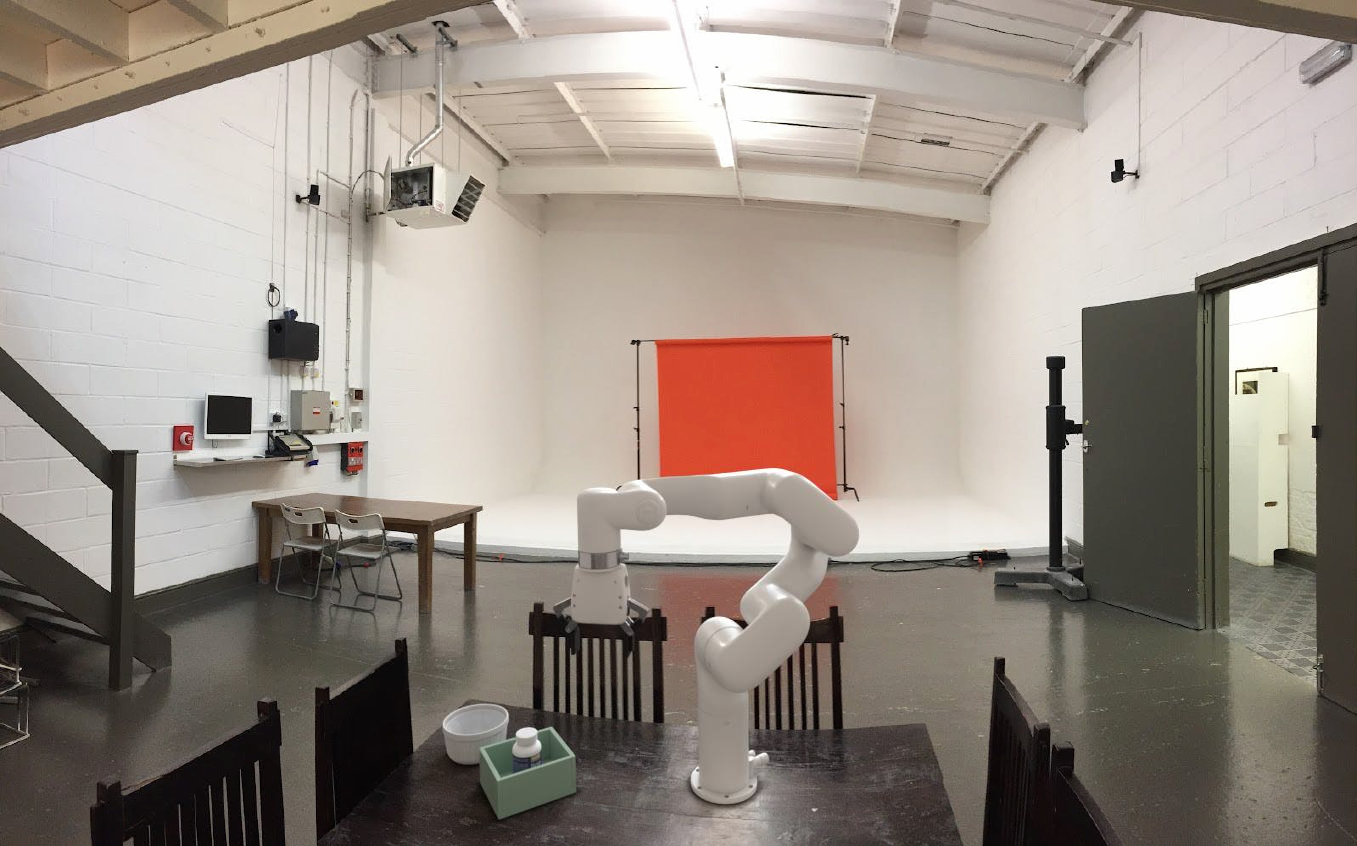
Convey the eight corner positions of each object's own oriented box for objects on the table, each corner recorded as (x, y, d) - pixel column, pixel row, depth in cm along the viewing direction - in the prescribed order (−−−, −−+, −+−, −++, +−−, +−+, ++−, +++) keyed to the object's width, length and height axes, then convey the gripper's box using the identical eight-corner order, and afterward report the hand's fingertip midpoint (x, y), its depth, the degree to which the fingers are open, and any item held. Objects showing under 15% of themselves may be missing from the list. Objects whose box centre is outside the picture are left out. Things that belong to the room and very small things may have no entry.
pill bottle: (535, 792, 120) (533, 741, 120) (508, 789, 121) (506, 738, 121) (546, 775, 126) (545, 726, 125) (520, 772, 127) (519, 723, 126)
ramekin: (513, 731, 144) (512, 700, 143) (504, 766, 131) (503, 732, 130) (451, 736, 142) (450, 705, 142) (436, 771, 129) (435, 737, 129)
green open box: (552, 759, 133) (551, 726, 132) (576, 792, 122) (575, 755, 122) (480, 782, 125) (479, 747, 125) (498, 819, 114) (497, 781, 114)
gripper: (652, 554, 117) (653, 647, 118) (559, 551, 120) (561, 642, 121) (643, 565, 110) (644, 664, 111) (545, 562, 113) (547, 659, 114)
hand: (601, 653), depth 116 cm, fingers open, 9 cm apart
